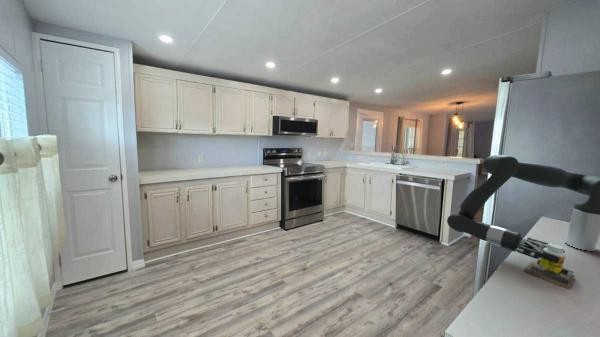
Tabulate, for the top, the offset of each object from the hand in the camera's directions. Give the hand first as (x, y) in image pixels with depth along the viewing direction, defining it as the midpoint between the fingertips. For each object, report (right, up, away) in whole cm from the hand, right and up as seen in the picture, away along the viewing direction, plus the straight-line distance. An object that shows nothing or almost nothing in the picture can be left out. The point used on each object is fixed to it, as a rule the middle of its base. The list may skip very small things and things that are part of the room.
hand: (561, 256), depth 83 cm
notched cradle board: (-1, -8, +3) cm, 8 cm away
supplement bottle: (-1, -7, +3) cm, 7 cm away
